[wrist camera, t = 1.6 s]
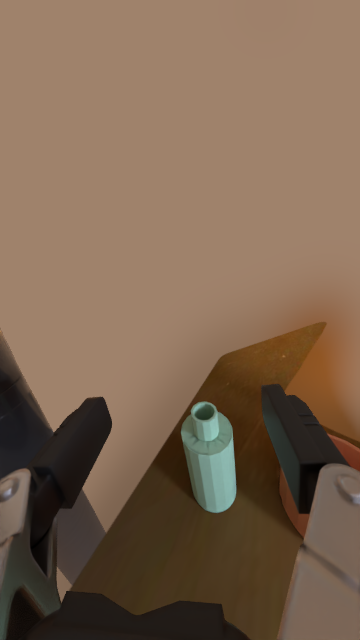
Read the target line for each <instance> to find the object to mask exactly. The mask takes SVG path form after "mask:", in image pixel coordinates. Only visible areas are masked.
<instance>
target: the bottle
mask: <svg viewBox="0 0 360 640" xmlns="http://www.w3.org/2000/svg"><path fill="white" fill-rule="evenodd" d="M181 435H182V440H183V445H184V450H185V455H186V460H187V465H188V470H189V475H190V480H191V485H192V490H193V494H194V497H195V499H196V501H197V502H198V504H199V505H200V506H201V507H202V508H204V509H205V510H207V511H209V512H214V513H218V512H222V511H225V510H226V509H228V508H229V507H230V506H231V505H232V503H233V501H234V499H235V496H236V476H235V461H234V446H233V432H232V426H231V424H230V422H229V420H228V419H227V418H226V417H225V416H224V415H223V414H221V413H219V412H217V410H216V407H215V406H214V405H213V404H212V403H209V402H199V403H197V404H195V405H194V406H193V408H192V410H191V415H190V416H188V417H187V419H186V420H185V421H184V423H183V425H182V429H181Z"/></svg>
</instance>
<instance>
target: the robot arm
mask: <svg viewBox="0 0 360 640" xmlns="http://www.w3.org/2000/svg"><path fill="white" fill-rule="evenodd" d="M261 392H262V412H263V418H264V423H265V426H266V429H267V431H268V434H269V436H270V439H271V442H272V444H273V447H274V450H275V452H276V455H277V458H278V460H279V463H280V465H281V468H282V471H283V473H284V476H285V479H286V481H287V484H288V487H289V489H290V492H291V494H292V497H293V500H294V502H295V505H296V508H297V510H298V513H299V514H309V515H310V516H309V520H308V525H307V529H306V533H305V537H304V541H303V544H302V545H301V546H300V548H299V551H298V555H297V558H296V562H295V566H294V571H293V575H292V579H291V583H290V587H289V591H288V595H287V600H286V604H285V608H284V612H283V616H282V620H281V624H280V628H279V633H278V637H277V640H360V472H359V471H358V470H356V469H354V468H352V467H351V466H350V465H349V464H348V463H347V461H346V460H345V458H344V457H343V456H342V454H341V453H340V451H339V450H338V448H337V447H336V446H335V444H334V443H333V441H332V440H331V439H330V437H329V436H328V434H327V433H326V431H325V430H324V429H323V427H322V426H321V425H320V424H319V422H318V420H317V419H316V417H315V416H313V413H312V412H311V410H310V409H309V407H308V406H307V405H306V403H305V402H303V401H302V400H300V399H299V398H298V397H296V396H295V395H289V396H286V394H285V392H284V391H283V389H282V387H281V386H280V385H279V384H273V385H262V387H261ZM111 428H112V420H111V417H110V414H109V411H108V408H107V405H106V402H105V400H104V398H103V397H93V398H87V399H86V400H85V401H84V402H83V403H82V405H81V406H80V407H79V408H78V409H76V410H75V411H74V412H73V413H72V414H70V415H69V416H68V417H67V418H66V419H65V420H64V421H63V423H62V424H61V425H60V427H59V428H58V429H57V430H56V431H55V432H53V431H52V429H51V427H50V425H49V423H48V421H47V419H46V417H45V415H44V414H43V412H42V410H41V408H40V406H39V404H38V402H37V400H36V399H35V397H34V395H33V393H32V391H31V389H30V387H29V385H28V384H27V382H26V380H25V378H24V376H23V374H22V373H21V370H20V369H19V367H18V365H17V363H16V361H15V358H14V356H13V354H12V351H11V349H10V347H9V345H8V343H7V341H6V340H5V338H4V336H3V333H2V331H1V329H0V640H250V639H249V638H248V637H247V635H246V634H244V633H243V632H242V631H241V630H239V629H238V628H237V627H236V626H234V625H233V624H231V623H229V622H227V621H226V620H225V619H224V614H223V609H222V604H214V603H202V602H190V601H178V602H175V603H172V604H169V605H166V606H164V607H161V608H158V609H155V610H153V611H150V612H147V613H144V614H142V615H133V614H131V613H130V612H128V611H127V610H125V609H124V608H122V607H121V606H119V605H118V604H116V603H115V602H113V601H111V600H110V599H108V598H107V597H105V596H104V595H102V594H97V593H85V592H73V591H66V594H65V597H64V599H63V602H62V604H61V601H60V597H59V593H58V589H57V581H56V572H57V570H56V569H57V519H56V517H55V516H56V514H57V512H58V511H59V509H60V508H63V509H72V507H73V505H74V503H75V501H76V499H77V497H78V495H79V493H80V491H81V489H82V487H83V485H84V483H85V481H86V479H87V477H88V475H89V473H90V471H91V469H92V467H93V465H94V463H95V461H96V459H97V458H98V456H99V454H100V452H101V449H102V448H103V445H104V444H105V442H106V440H107V438H108V436H109V434H110V431H111Z"/></svg>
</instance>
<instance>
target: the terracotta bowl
mask: <svg viewBox="0 0 360 640" xmlns="http://www.w3.org/2000/svg"><path fill="white" fill-rule="evenodd" d="M328 436H329V437H330V439H331V440H332V441H333V443H334V444H335V446H336V447H337V448H338V450H339V451H340V453H341V454H342V456H343V457H344V458H345V460H346V461H347V463H348V464H349V465H350V466H351V467H352V468H354V469H356V470H358V471H359V472H360V449H359V448H357V447H356V446H354V445H352V444H351V443H349V442H347V441H345V440H343V439H340V438H338V437H335V436H333V435H330V434H328ZM279 492H280V497H281V501H282V504H283V506H284V509H285V511H286V513H287V515H288V517H289V519H290V520H291V522H292V523H293V525H294V526H295V528H296V529H297V530H298V532H299V533H300V534H301V535H302V536H303V538H304V537H305V533H306V529H307V525H308V520H309V516H310V515H309V514H299V513H298V510H297V508H296V505H295V502H294V500H293V497H292V494H291V492H290V489H289V487H288V484H287V481H286V479H285V476H284V473H283V471H282V468H281V465H280V463H279Z"/></svg>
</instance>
